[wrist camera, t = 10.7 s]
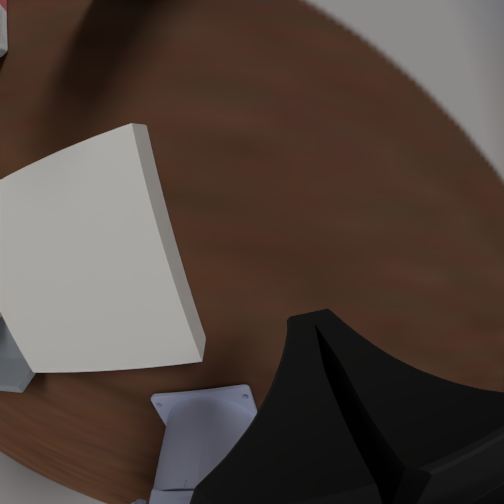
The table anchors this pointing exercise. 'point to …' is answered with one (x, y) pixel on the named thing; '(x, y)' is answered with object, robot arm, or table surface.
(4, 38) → the ink cartridge box
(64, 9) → the table surface
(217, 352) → the table surface
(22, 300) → the ledge board
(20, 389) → the bin
